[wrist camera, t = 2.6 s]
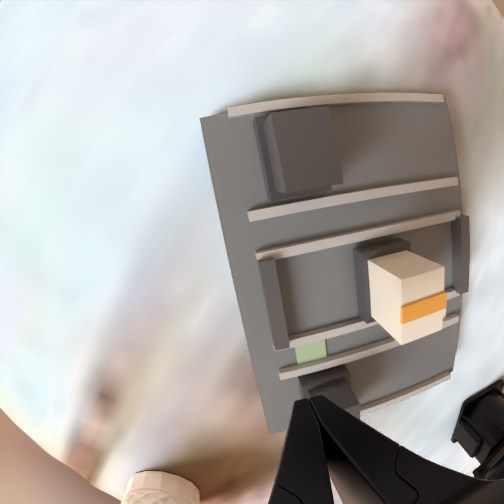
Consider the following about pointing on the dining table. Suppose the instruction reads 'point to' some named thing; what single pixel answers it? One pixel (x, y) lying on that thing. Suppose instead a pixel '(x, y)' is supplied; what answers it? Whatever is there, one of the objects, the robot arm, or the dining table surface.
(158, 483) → the white cup
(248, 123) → the breaker panel
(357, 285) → the breaker
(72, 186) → the dining table surface
